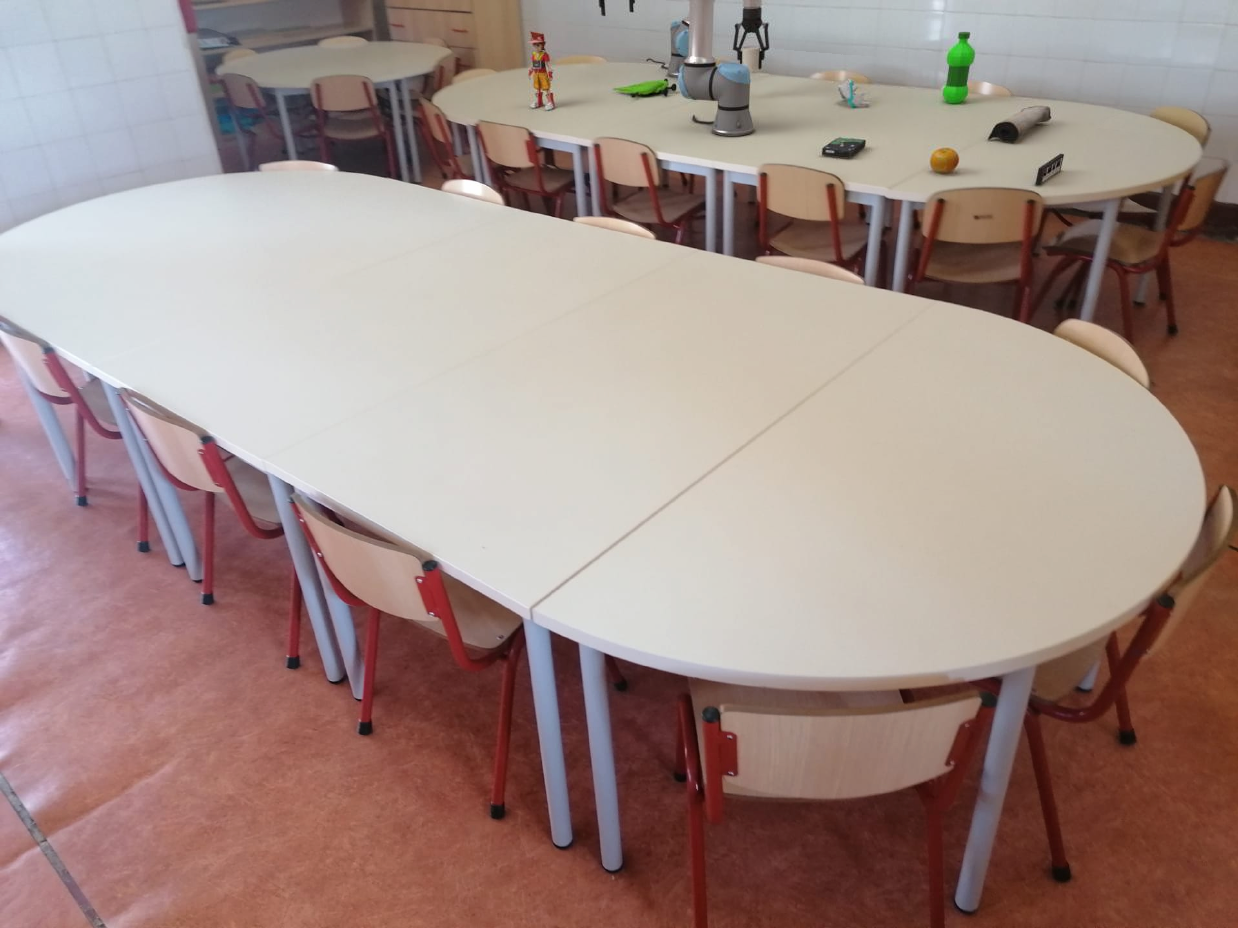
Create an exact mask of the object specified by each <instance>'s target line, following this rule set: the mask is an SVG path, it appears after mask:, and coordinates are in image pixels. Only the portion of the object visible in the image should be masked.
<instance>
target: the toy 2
mask: <svg viewBox="0 0 1238 928" xmlns="http://www.w3.org/2000/svg"><path fill="white" fill-rule="evenodd" d="M669 85H670V83H669V79H668V78H664V79H663V80H649V81H644V82H640V83H634V84H629V85H627V86H621V87H613V88H612V89H613V90H616V91H619V92H623V93H627V94H628V93H629V94H631V95H630V96H631V98H632V99H634V98H636V96H637V95H650V94H652V93H654V94H658V93H662V95H663V96H665V97H667V96H668V95H669V90H671V91H672V92H676V91H677V86H678V85H677V84H676V83H672V84H671V86H669Z"/></svg>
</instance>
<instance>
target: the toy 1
mask: <svg viewBox="0 0 1238 928" xmlns="http://www.w3.org/2000/svg"><path fill="white" fill-rule="evenodd" d="M529 33H530V35H531V36H528V37H527V38H528V39H529V40H528V41H527V43H529V44H530V43H531V44H532V48H533V50H534V51H533V52H532V55H531V58H530V59H531V63H530V66H528V74H527V75H528V76H527V77H528V79H529V80H531V75H532V74H533V84H532V85H533V86H532V87H533V88H534V89H535V90H536V92H534V95H535V97H536V100H535V101H533V102H531V105H530V108H531V109H535V108H538V107H542V106H544V101H543V100H544V99H543V95H544V92H546V94H545V97H546V99H547V103H546V104H545V106H544V110H546V111H549V110H553V109H554V107H555V106H556V105H555V99H554V92H551V91H550V90H551V86H552V84H551V82H552V81H553V80H554V77H553V73H554V71H555V70H554V69H552V68H551V63H550V61H551V59H550V58H551V57H550V54H549V53H548V52H547V50H546V48H545V46H546V44H547V41H545V35H544V33H543V32H542V33H539V32H535V31H529Z"/></svg>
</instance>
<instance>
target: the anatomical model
mask: <svg viewBox="0 0 1238 928" xmlns="http://www.w3.org/2000/svg"><path fill="white" fill-rule="evenodd" d="M853 86H854V87H853ZM858 89H859V86H855V83H854V81H853V80H851V78H846V80H845V82H844V83H840V84H838V87H837V90H838V92H839V95H840V96H841V98H842V100H846V101H847V102H848V104H849V105H850V107H851V108H858V107H860V106H869V105H870V104H871V103H870V101H865V100H864V97H865V95H867V92H865V91H863V92H861V93H860V94H856V91H857V90H858Z"/></svg>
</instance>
